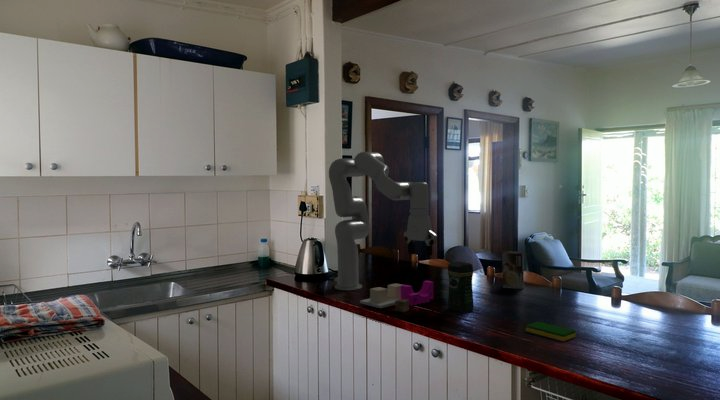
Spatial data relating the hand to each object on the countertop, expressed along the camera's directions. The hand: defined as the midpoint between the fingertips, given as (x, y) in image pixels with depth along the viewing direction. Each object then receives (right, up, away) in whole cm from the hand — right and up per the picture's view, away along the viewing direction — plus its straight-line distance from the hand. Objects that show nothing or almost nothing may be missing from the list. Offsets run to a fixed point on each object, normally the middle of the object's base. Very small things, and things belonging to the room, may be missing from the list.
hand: (420, 254), depth 212 cm
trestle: (-13, -20, +3) cm, 24 cm away
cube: (-8, -21, -12) cm, 25 cm away
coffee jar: (+14, -20, -12) cm, 28 cm away
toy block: (0, -20, +1) cm, 20 cm away
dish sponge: (+37, -22, -44) cm, 61 cm away
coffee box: (+46, -18, +25) cm, 55 cm away
